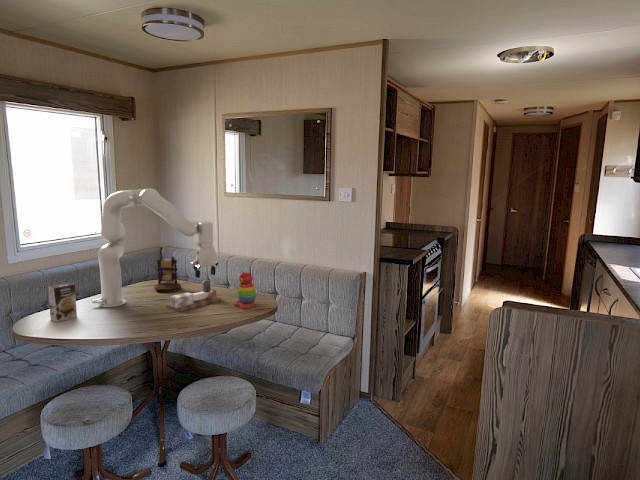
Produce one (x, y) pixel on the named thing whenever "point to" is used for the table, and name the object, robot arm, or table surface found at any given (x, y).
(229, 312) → the table surface
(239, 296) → the stacking bear
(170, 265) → the wooden spool holder
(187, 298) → the wooden board
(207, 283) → the white block with knob
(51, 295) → the coffee box
